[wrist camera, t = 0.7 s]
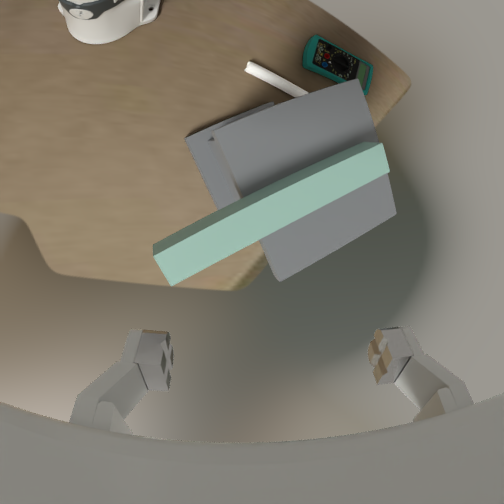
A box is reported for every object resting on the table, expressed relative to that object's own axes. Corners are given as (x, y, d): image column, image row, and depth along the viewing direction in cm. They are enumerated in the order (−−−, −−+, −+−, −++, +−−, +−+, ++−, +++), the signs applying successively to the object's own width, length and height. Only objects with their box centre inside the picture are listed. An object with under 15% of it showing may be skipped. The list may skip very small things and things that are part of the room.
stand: (223, 221, 55) (279, 281, 32) (184, 138, 48) (213, 130, 25) (300, 183, 57) (396, 213, 34) (268, 102, 50) (358, 78, 27)
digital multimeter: (307, 35, 48) (314, 31, 46) (367, 67, 54) (376, 65, 51) (298, 66, 50) (305, 63, 47) (360, 97, 56) (369, 96, 53)
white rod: (330, 108, 54) (336, 107, 52) (326, 117, 55) (332, 116, 53) (247, 62, 47) (251, 59, 45) (242, 72, 48) (246, 69, 45)
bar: (168, 272, 28) (171, 286, 25) (152, 244, 27) (153, 256, 24) (371, 168, 31) (389, 171, 28) (363, 141, 30) (382, 143, 27)
